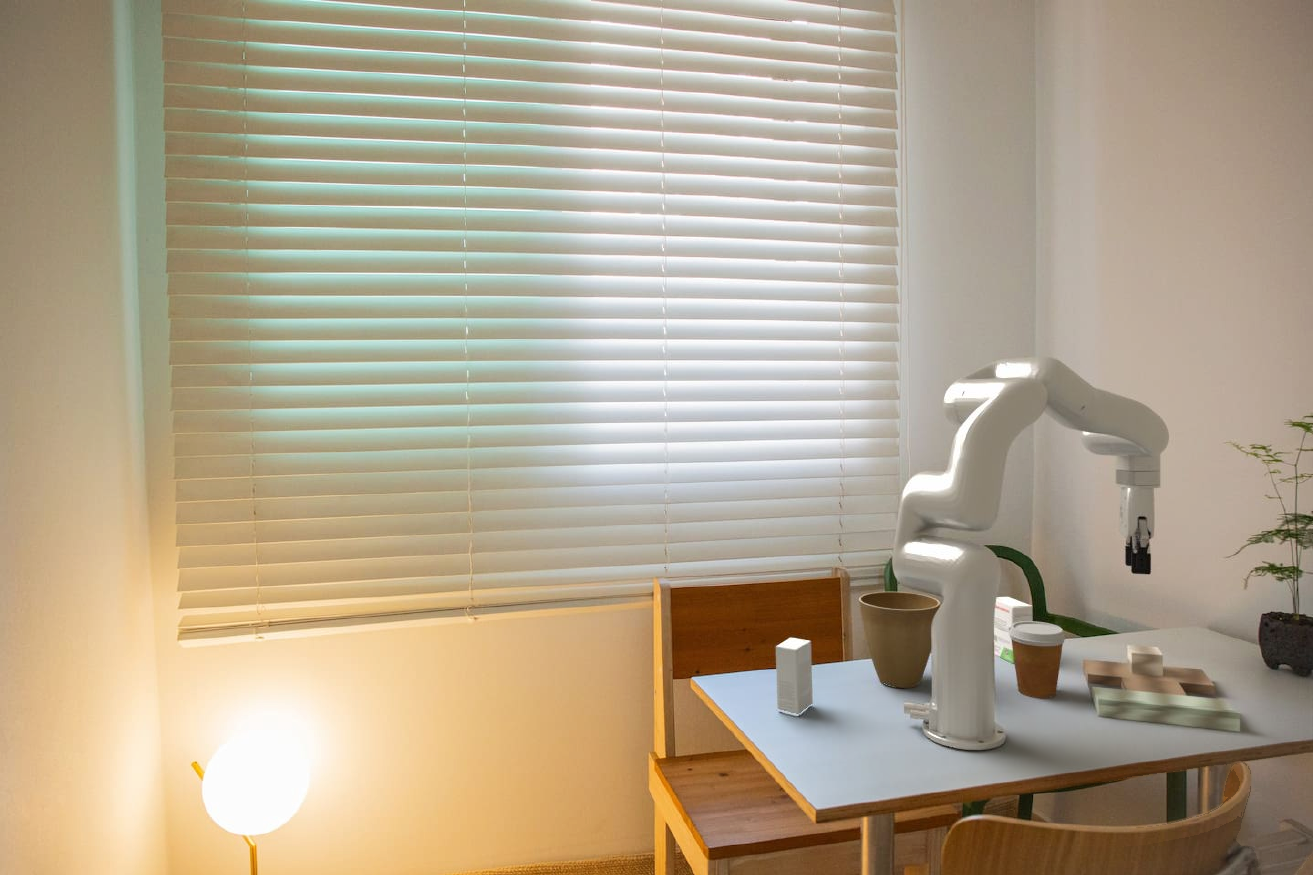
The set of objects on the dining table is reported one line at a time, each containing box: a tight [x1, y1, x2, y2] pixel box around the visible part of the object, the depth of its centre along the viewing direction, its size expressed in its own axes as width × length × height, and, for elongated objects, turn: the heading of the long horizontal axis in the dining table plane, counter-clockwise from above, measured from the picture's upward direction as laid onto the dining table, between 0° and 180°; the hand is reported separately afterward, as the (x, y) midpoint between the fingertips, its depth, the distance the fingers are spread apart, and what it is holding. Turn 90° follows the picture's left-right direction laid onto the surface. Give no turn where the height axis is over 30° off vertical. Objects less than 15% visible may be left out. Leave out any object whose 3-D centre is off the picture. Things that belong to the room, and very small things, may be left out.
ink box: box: [994, 596, 1034, 665], centre depth 169 cm, size 9×5×12 cm, turn 11°
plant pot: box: [858, 591, 941, 689], centre depth 156 cm, size 15×15×16 cm
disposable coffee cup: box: [1008, 621, 1067, 699], centre depth 149 cm, size 10×10×12 cm
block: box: [1126, 644, 1164, 677], centre depth 153 cm, size 5×5×4 cm
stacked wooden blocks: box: [1082, 658, 1241, 733], centre depth 145 cm, size 20×25×3 cm
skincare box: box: [775, 637, 814, 714], centre depth 144 cm, size 6×4×12 cm
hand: (1137, 568), depth 159 cm, fingers open, 6 cm apart
